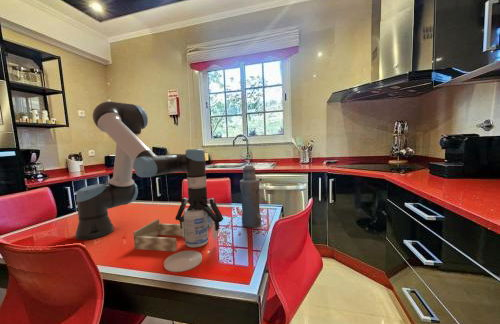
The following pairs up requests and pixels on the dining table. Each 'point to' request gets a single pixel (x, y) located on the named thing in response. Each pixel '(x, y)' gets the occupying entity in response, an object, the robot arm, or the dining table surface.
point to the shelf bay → (149, 241)
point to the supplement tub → (195, 227)
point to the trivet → (182, 261)
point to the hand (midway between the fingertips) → (200, 237)
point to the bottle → (250, 198)
